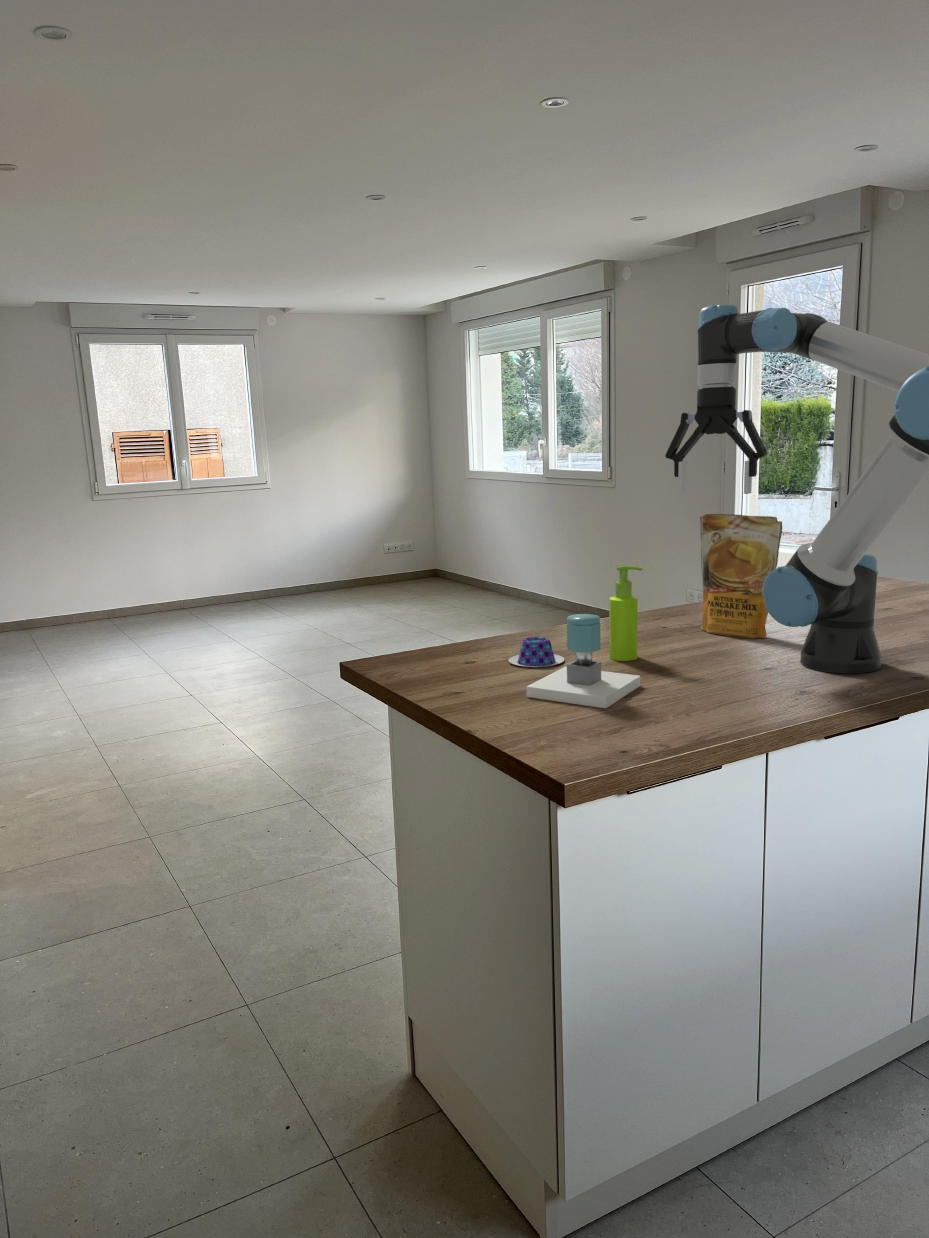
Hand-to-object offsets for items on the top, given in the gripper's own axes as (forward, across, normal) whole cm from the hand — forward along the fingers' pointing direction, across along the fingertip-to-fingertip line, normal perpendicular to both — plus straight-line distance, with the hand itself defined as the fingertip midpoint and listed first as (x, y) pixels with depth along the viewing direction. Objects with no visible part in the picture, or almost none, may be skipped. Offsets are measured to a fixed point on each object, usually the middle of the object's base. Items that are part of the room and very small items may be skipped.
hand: (714, 493), depth 185 cm
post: (+31, +13, +35) cm, 49 cm away
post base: (+35, +13, +35) cm, 51 cm away
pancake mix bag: (+35, +2, -24) cm, 42 cm away
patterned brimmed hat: (+35, +32, +19) cm, 51 cm away
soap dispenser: (+35, +16, +8) cm, 39 cm away
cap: (+26, +13, +35) cm, 46 cm away
